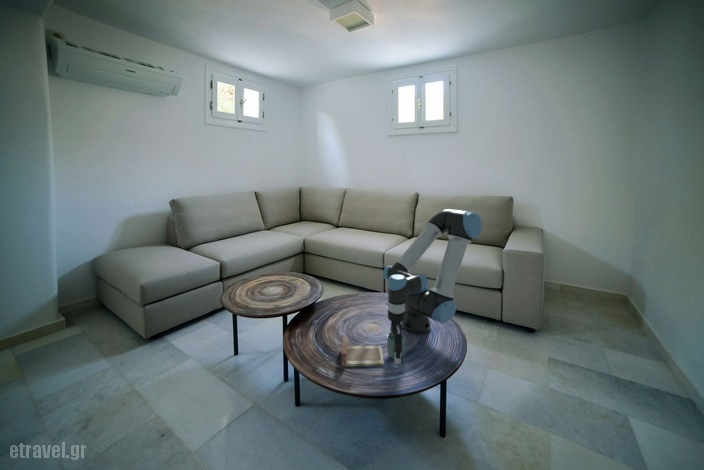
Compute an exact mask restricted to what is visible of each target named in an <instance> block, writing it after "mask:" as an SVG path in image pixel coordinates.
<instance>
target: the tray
mask: <svg viewBox="0 0 704 470" xmlns="http://www.w3.org/2000/svg"><path fill="white" fill-rule="evenodd" d="M347 337H348V336H342V337H341V367H384V365H385V363H384V356H383V355H384V354H383V351H382V350H383V349H382V346H381V345H348V338H347Z"/></svg>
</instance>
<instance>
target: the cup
mask: <svg viewBox="0 0 704 470" xmlns="http://www.w3.org/2000/svg"><path fill="white" fill-rule="evenodd" d="M405 348H406V336H405V334H404V333H402V353H401V358H402V357H403V356H404V355H405V350H406V349H405ZM393 350H395V338H394V334H393V332H391V331H390V332H389V333H388V334H387V335H386V351H387V355H388V357H390V358H391V359H393V360H394V351H393Z"/></svg>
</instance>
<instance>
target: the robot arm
mask: <svg viewBox="0 0 704 470" xmlns="http://www.w3.org/2000/svg"><path fill="white" fill-rule="evenodd" d="M482 226H483V223H482V219H481V217H480V215H479V214H478V213H476V212H473V211H468V210H459V209H454V208H453V209H452V208H447V209H444V210H441V211H439V212H437V213H436V214H435V215H433V216H432V217H431V218H430V219H429V220H428V221H427V222H426V223H425V226H424V227H425V228H424V229H423V230H422V231H421V233H419V235H418V236H417V237H416V238H415V239H414V240H413V242H412V243H411V244H410V245H409V246H408V248H406V250H405V251H404V253H402V255H401V256H400V257H399V258H398V259H397V261H396V262H395V263H394V264H393V265H389V264H388V265H387V266H385V267H384V269H383V271H382V276H383V278H384V279H385V280H386V281H387V302H388V303H386V306H387V320H389V322H390V333H391V332H393V334H394V338H395V350H393V351H394V359H393V362H394V365H401V364H402V357H401V353H402V334H403V333H402V332H403V330H404V331H405V332H407V333H410V334H414V335H421V334H422V335H423V334H426V333H428V332H429V331H430V330H431V322H430V320H433V321H434V322H437V323H440V324H445V323H448V322H449V321H450V320H452V319H453V317H454V316H455V313H456V311H457V305H456V302H455V301H454V299H455V296H454V294H453V290H454V288H455V285H456V284H455V283H456V282H457V279H458V276H459V271H460V268H461V265H462V262H463V259H464V256H465V253H466V250H467V246H468V245H470V244H471V243H472V242H473V239H476V238H479V236H480V235H481V233H482ZM445 233H447V234H446V236H447V238H448V241H447V244H446V248H445V250H444V251H445V252H444V255H443V257H442V261H441V264H440V267H439V271H438V273H437V276H436V280H435V283H434V286H433V287H431V288H429V285H428V284H429V282H428V278H427V277H426V275H424V274H423V273H416V274H413V273H410V271H411V269H413V267H414V266H415V265H416V264H417V262H418V261H419V260H420V259H421V258H422V257H423V255H424V254H425V253H426V251H427V250H428V249H429V248H430V247H431V246H432V244H433V243H434V242H435V241H436V240H437V238H440V237H442V236H443V234H445Z"/></svg>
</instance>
